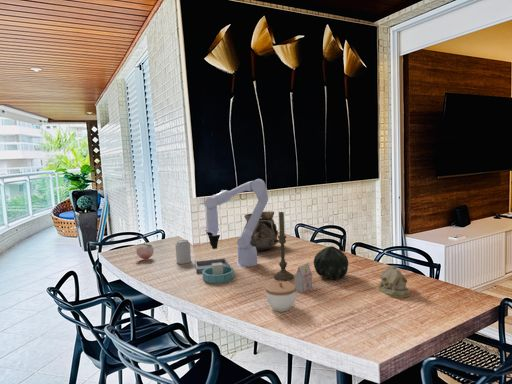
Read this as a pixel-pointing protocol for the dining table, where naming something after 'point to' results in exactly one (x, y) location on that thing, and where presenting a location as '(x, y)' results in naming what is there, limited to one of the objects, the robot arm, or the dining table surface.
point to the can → (183, 252)
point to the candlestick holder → (282, 252)
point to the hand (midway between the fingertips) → (213, 247)
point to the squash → (331, 263)
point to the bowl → (216, 279)
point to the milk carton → (303, 278)
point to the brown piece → (263, 231)
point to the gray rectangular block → (217, 268)
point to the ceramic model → (393, 283)
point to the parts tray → (209, 264)
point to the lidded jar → (281, 295)
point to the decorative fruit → (145, 251)
